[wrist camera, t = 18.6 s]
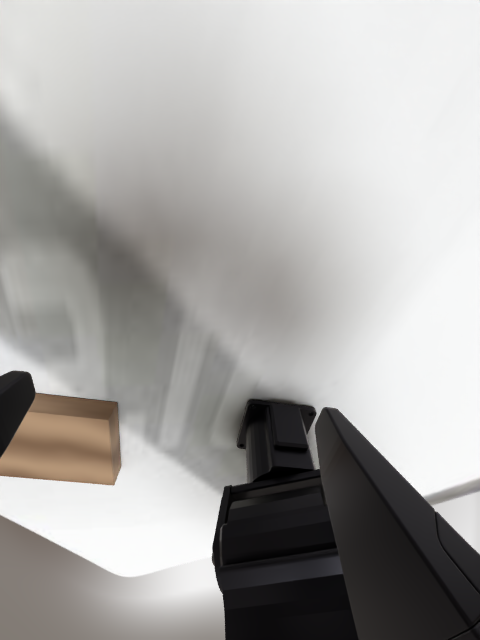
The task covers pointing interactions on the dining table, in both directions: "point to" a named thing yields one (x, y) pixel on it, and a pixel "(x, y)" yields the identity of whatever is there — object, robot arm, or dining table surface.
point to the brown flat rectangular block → (66, 441)
